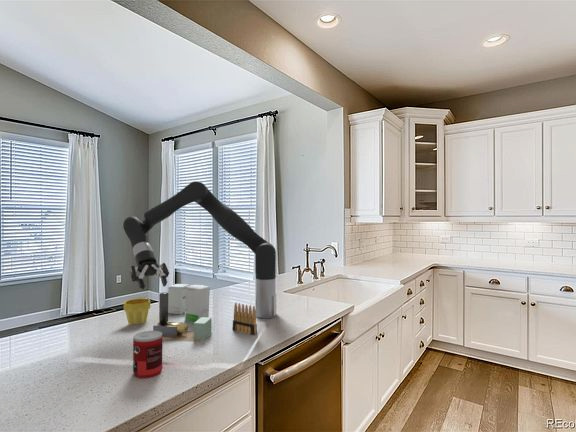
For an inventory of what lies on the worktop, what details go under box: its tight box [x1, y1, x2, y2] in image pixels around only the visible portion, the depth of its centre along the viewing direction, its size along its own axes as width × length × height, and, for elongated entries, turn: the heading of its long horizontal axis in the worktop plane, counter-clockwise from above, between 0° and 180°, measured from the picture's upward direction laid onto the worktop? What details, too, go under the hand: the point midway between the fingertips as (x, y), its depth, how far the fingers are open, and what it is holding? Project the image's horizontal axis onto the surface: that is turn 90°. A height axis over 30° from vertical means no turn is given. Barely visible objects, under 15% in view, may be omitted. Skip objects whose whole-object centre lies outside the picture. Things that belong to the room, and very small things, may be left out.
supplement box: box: [167, 283, 190, 315], centre depth 161 cm, size 7×7×13 cm
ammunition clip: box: [232, 302, 258, 336], centre depth 130 cm, size 11×2×12 cm, turn 59°
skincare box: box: [184, 283, 211, 323], centre depth 145 cm, size 8×7×16 cm
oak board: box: [162, 330, 213, 343], centre depth 126 cm, size 20×10×1 cm, turn 83°
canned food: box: [132, 330, 163, 379], centre depth 99 cm, size 8×8×11 cm
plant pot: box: [123, 297, 151, 326], centre depth 142 cm, size 10×10×10 cm
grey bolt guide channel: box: [152, 321, 184, 338], centre depth 126 cm, size 9×5×4 cm, turn 82°
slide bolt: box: [156, 291, 189, 333], centre depth 126 cm, size 11×3×14 cm, turn 82°
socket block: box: [193, 317, 212, 341], centre depth 125 cm, size 4×7×6 cm, turn 173°
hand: (154, 286), depth 134 cm, fingers open, 8 cm apart
